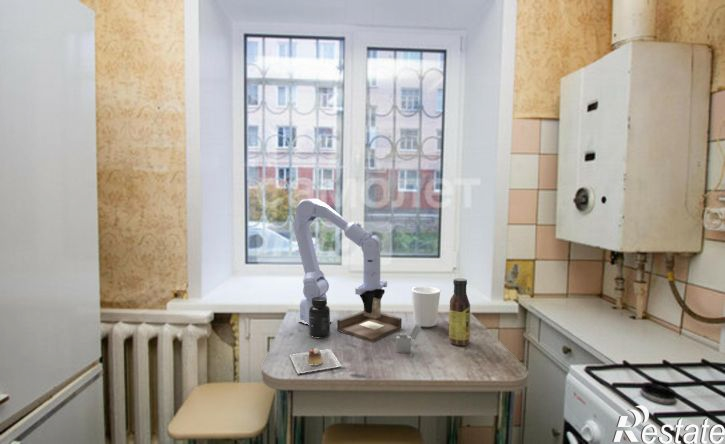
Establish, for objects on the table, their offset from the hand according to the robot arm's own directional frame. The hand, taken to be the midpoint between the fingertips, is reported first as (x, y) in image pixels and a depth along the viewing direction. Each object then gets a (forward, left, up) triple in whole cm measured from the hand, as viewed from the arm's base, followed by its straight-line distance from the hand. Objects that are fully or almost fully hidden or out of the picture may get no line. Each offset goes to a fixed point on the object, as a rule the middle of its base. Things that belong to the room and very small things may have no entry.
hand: (371, 311), depth 130 cm
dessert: (+5, -30, -7) cm, 31 cm away
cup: (+12, +15, -6) cm, 20 cm away
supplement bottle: (-9, -16, -6) cm, 19 cm away
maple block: (0, 0, -2) cm, 2 cm away
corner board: (0, -1, -6) cm, 6 cm away
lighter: (+20, -7, -6) cm, 22 cm away
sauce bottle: (+28, +9, -6) cm, 30 cm away
